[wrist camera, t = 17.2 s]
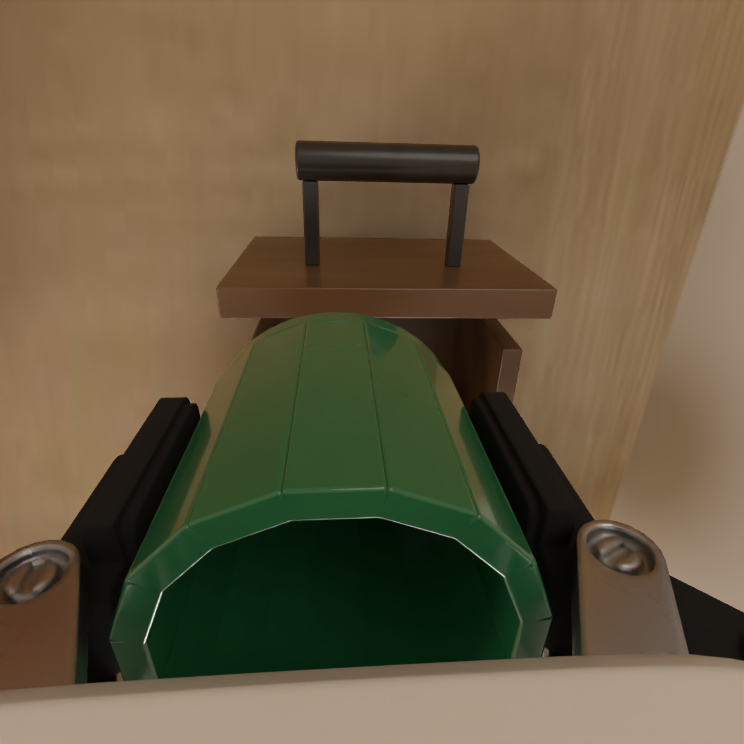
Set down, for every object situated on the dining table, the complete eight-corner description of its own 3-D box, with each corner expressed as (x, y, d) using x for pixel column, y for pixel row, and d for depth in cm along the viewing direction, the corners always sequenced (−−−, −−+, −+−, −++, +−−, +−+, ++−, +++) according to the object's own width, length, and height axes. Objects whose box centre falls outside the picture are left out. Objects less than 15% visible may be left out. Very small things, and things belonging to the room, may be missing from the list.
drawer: (245, 135, 23) (196, 140, 15) (503, 143, 24) (587, 151, 16) (274, 472, 32) (253, 585, 24) (458, 468, 33) (496, 576, 25)
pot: (229, 520, 13) (158, 779, 8) (195, 311, 11) (52, 498, 5) (445, 512, 14) (514, 754, 8) (470, 310, 11) (596, 481, 6)
